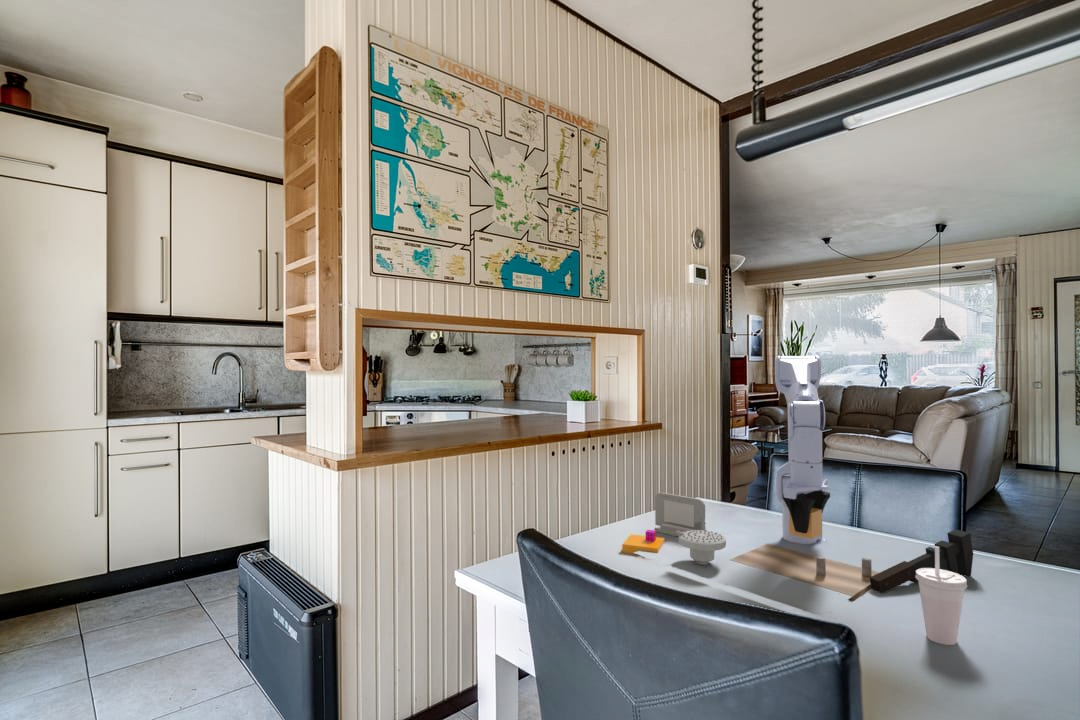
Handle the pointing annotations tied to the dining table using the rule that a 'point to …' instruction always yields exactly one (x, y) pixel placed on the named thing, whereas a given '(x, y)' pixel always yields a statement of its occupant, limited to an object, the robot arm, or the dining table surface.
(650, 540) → the orange block with knob
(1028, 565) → the dining table surface
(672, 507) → the handheld gaming console
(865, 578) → the board
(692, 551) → the showerhead
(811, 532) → the orange wooden toy cube
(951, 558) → the adjustable wrench
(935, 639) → the smoothie
